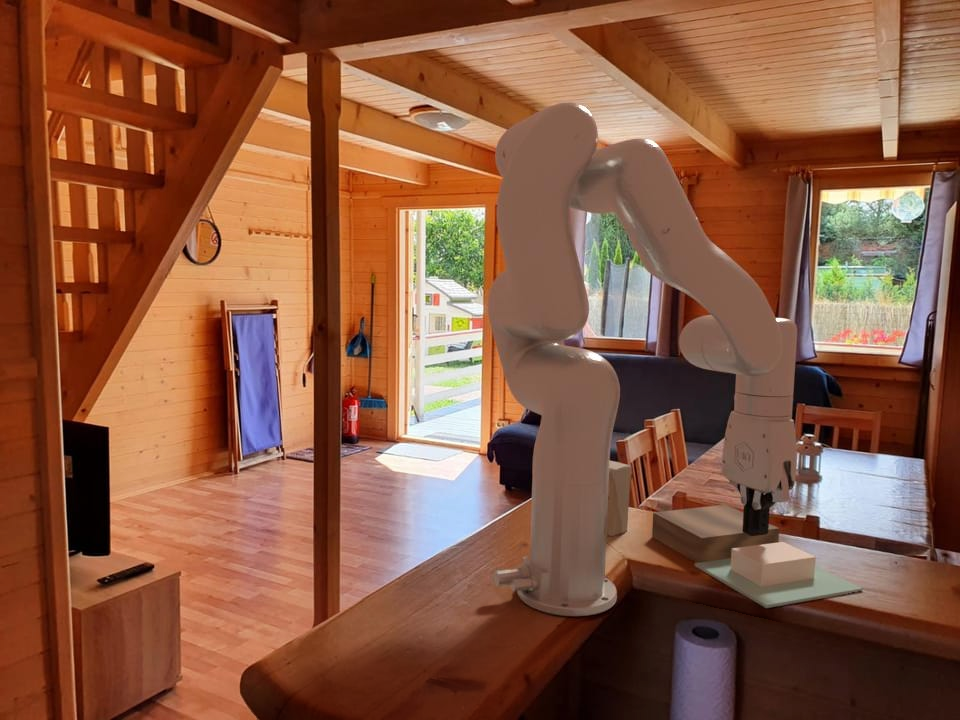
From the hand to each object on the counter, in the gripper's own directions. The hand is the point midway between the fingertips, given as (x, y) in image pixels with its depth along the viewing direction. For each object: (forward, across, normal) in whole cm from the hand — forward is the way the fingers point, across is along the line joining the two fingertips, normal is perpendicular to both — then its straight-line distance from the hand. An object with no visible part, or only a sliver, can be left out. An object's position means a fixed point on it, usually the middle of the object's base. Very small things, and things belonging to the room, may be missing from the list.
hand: (755, 533), depth 100 cm
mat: (+5, +4, 0) cm, 7 cm away
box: (+5, -20, -12) cm, 24 cm away
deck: (+5, -9, 0) cm, 10 cm away
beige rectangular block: (+3, +4, 0) cm, 5 cm away
